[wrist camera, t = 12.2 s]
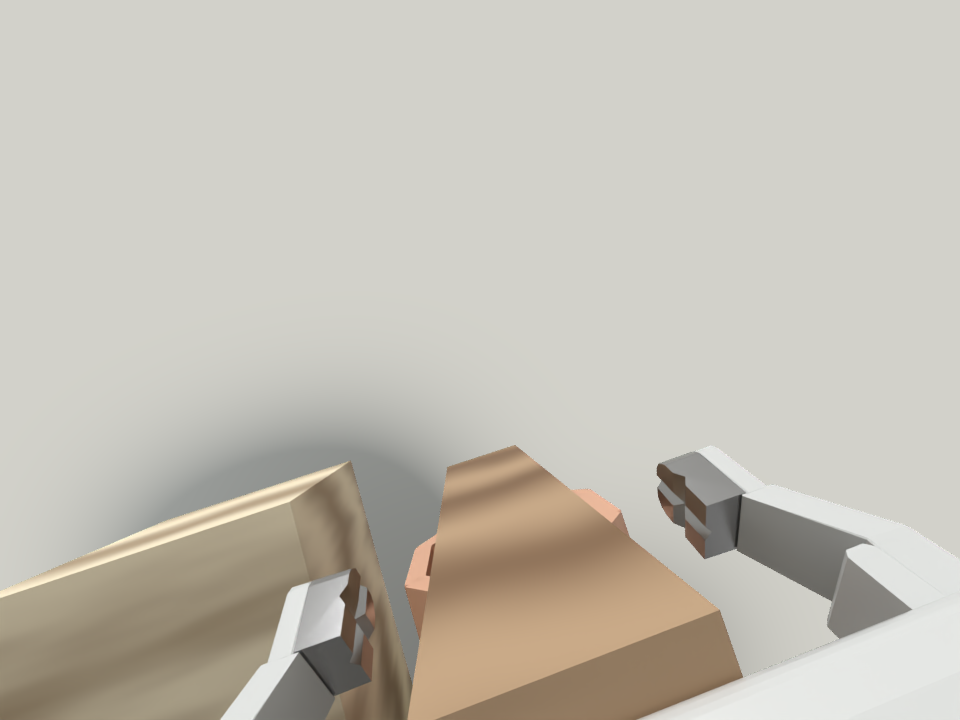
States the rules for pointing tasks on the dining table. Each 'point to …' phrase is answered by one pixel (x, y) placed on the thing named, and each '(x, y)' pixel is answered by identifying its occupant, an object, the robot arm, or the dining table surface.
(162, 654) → the stand
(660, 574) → the lid slat
